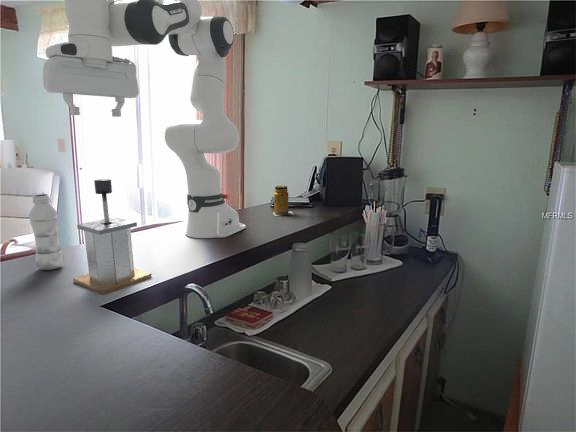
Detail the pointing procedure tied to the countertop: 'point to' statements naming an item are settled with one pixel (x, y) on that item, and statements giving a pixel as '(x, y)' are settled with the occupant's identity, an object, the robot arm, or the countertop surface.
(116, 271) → the white box on plank
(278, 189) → the condiment
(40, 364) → the countertop surface
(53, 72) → the robot arm
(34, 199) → the plastic bottle
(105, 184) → the plunger
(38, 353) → the countertop surface
